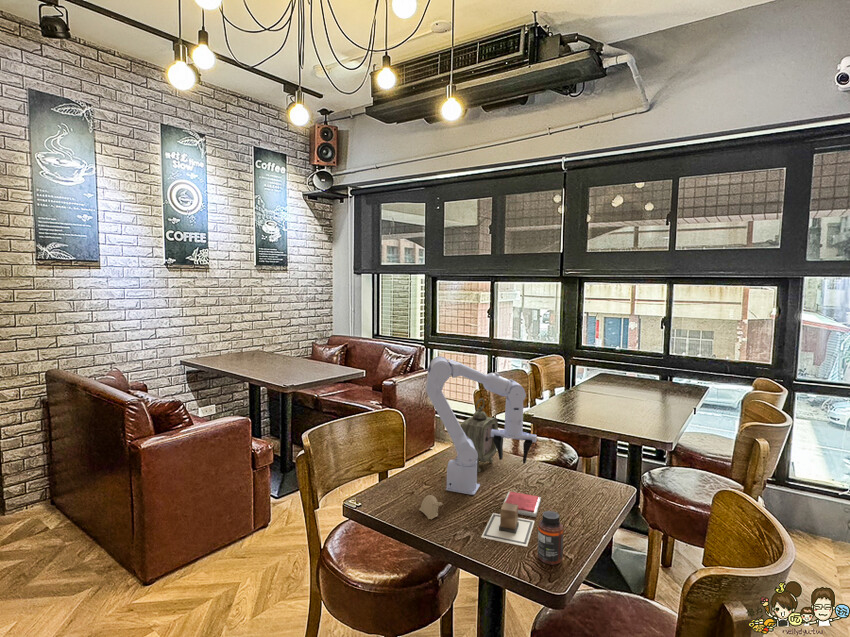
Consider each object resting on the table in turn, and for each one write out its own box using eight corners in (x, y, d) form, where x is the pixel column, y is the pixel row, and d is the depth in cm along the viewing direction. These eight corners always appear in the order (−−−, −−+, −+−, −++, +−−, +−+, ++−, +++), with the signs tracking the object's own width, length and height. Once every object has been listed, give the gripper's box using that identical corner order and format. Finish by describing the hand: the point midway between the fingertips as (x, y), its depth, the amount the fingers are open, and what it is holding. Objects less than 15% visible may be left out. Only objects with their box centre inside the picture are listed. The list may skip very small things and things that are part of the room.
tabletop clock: (480, 475, 167) (482, 405, 165) (457, 469, 172) (459, 401, 170) (497, 462, 180) (498, 396, 177) (475, 457, 184) (476, 393, 182)
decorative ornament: (431, 507, 144) (431, 489, 144) (444, 519, 137) (444, 501, 136) (418, 509, 142) (419, 492, 142) (431, 522, 135) (431, 504, 134)
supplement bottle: (556, 551, 122) (558, 508, 121) (566, 565, 116) (568, 519, 115) (533, 552, 121) (535, 509, 120) (542, 566, 115) (544, 521, 114)
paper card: (481, 537, 127) (481, 536, 127) (492, 513, 140) (492, 512, 140) (527, 547, 123) (527, 546, 123) (534, 521, 136) (534, 520, 136)
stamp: (498, 530, 131) (499, 509, 130) (502, 522, 135) (502, 501, 134) (515, 533, 129) (516, 512, 129) (518, 525, 133) (519, 504, 133)
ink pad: (501, 511, 142) (501, 505, 142) (508, 495, 152) (508, 490, 152) (535, 517, 138) (536, 512, 138) (540, 500, 149) (540, 495, 149)
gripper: (488, 420, 154) (487, 461, 155) (534, 425, 149) (533, 468, 150) (493, 414, 161) (492, 454, 162) (537, 419, 156) (536, 460, 157)
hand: (512, 460), depth 157 cm, fingers open, 7 cm apart
